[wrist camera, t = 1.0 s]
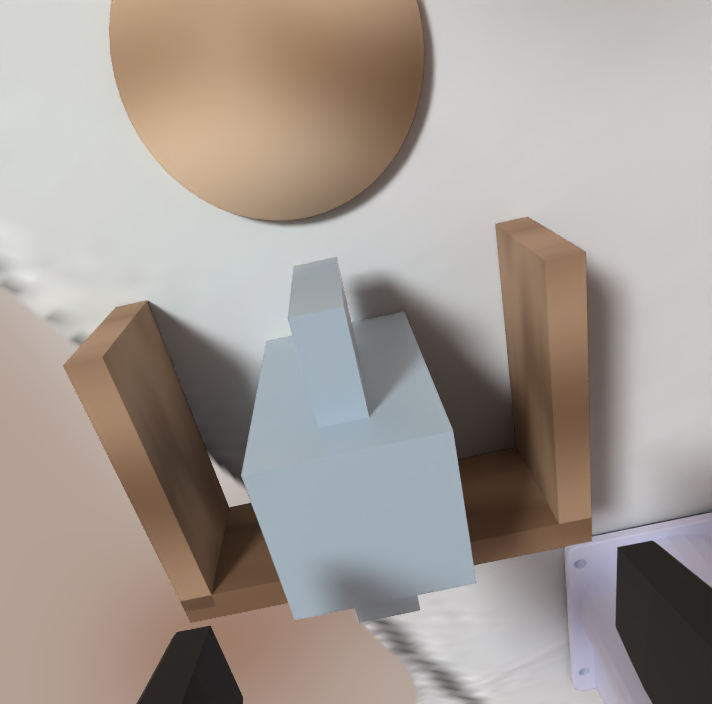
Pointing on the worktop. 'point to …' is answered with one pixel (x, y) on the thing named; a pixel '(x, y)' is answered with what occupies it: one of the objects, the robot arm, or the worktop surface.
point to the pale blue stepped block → (353, 461)
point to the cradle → (478, 474)
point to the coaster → (270, 95)
